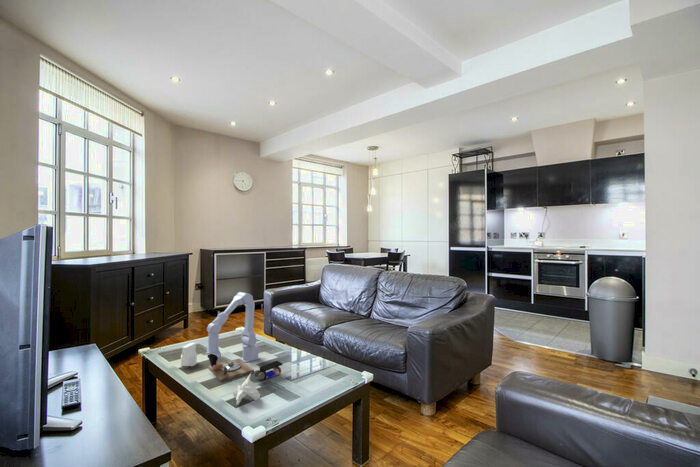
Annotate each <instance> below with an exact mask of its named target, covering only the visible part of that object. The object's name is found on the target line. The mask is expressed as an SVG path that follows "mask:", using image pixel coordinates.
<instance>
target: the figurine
mask: <svg viewBox="0 0 700 467" xmlns="http://www.w3.org/2000/svg"><path fill="white" fill-rule="evenodd" d="M251 375H252V373H250V374H248V376H247V378H246V379H245V380H244V381H243V383H242V384H241V385H240V384H237V385H236V390H234V391H233V392H232V395H233V396H232V397H234V398H235V401H236V403H235V404H236V405H237V406H239V404H240V403H241V402H242V400H243V398H245V397H246V396H247V395H248V396H250V397H251V398H252V399H253V400H254V401H256V402H257V401H258V400H259V399H260V397H261V394H260V391H259V390H258V389H257V385H254V386H252V385H250V382H251V379H250V378H251V377H252V376H251Z"/></svg>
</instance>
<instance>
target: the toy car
mask: <svg viewBox="0 0 700 467" xmlns="http://www.w3.org/2000/svg"><path fill="white" fill-rule="evenodd" d="M280 366H283V363H281V361H278V360H276V361H272V362H269V363H266V364H264V365H262V366H259V369H255V370H254V372H253V376H254V377H255V378H258V381H260V382H261V383H263V382H264V381H266V380H267V379H269V378H273V377H274V376H275V377H278V376H280V375H281V373H282V369H281V367H280Z"/></svg>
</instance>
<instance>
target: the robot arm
mask: <svg viewBox="0 0 700 467" xmlns="http://www.w3.org/2000/svg"><path fill="white" fill-rule="evenodd" d="M253 298H254V296H253V295H252V294H251V293H248V292H242V291H238V292H237V293H236V295H235V296H233V299H232V301H231V302H230V303H229V305H228V306H227V307H226V308H225V310H224V311H221V312H220V313H218V314H217V316H216V317H215V319H214V320H212V322H210V323H209V324H208V325H207V327H206V331H207V333H208V337H207V338H208V340H207V341H208V344H207V345H208V346H207V348H205V349H206V350H205V351H206V353H205V354H206V355H207V357H208V358H207V359H208V360H209V363H210V365H211V367H213V364H218V359H219V358H220V357H222V352H221V351H220V349H219V348H220V347H219V346H220V343H219V342H220V339H219V338H220V334H219V333H220V332H221V330H222V327H223V325H224V324H225V323H226V322H227V320H228V319H229V316H230V314H231V313H232V312H233V311H234V310H235V309H236V308H237V307H238V306H242V305H244V306H245V315H244V316H245V317H244V318H245V320H244V331H242V335H241V337H240V343H241V344H242V357H240V358H239V359H241V360H242V361H243V362H244V363H248V362H252V361H255V360H256V361H257V360H259V359H260V358H259V345H258V344H257V341H258V340H257V337H256V333H255V331H254V323H255V307H256V306H255V300H254V299H253Z"/></svg>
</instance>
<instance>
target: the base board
mask: <svg viewBox="0 0 700 467" xmlns="http://www.w3.org/2000/svg"><path fill="white" fill-rule="evenodd" d="M228 362H236V363H240V368H239V369H237V370H235V371H228V372H227V367H224V371H222V370H221V369H220V370H213V367H211V364H210V365H208V367H207V369H208V370H209V371H210V372H211V373H212V374H213V375H214V376H215V377H216V378H217V379H218V381H220V382H224V381H227V380H231V379H235V378H239V377H242V376H246V375H250V374H254V372H255V370H254V368H253V367H251V366H249V364H247V362H244V361H242V360H241V359H240V358H236V359H231V360H227V361H224V362H223V361H222V363H223V365H224V364H227V363H228ZM220 363H221V362H220ZM220 363H218V362H217V364H220Z"/></svg>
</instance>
